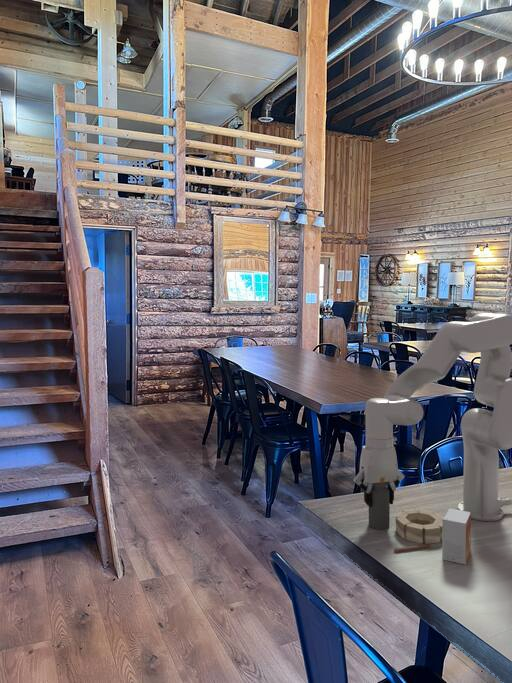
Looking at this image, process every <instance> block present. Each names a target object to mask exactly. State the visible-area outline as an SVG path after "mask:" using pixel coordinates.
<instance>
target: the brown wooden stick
mask: <svg viewBox="0 0 512 683" xmlns="http://www.w3.org/2000/svg"><path fill="white" fill-rule="evenodd" d="M431 546H432V545H431V543H430V544H425V543H423V544H418V545H417V544H416V545H410V546H405V547H403V546H401V547H395V548H393V552H394V553H397V554H398V553H403V552H411V551H417V550H419V551H420V550H423V549H431Z"/></svg>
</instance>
